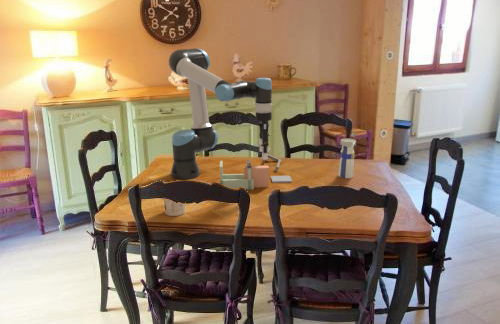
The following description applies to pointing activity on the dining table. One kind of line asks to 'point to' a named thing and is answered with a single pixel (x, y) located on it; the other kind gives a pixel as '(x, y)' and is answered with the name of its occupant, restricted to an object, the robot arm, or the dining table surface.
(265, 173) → the pink cube
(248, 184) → the dispenser
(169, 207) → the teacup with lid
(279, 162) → the toilet paper hanger
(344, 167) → the water bottle
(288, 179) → the tray
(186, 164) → the robot arm
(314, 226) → the dining table surface
